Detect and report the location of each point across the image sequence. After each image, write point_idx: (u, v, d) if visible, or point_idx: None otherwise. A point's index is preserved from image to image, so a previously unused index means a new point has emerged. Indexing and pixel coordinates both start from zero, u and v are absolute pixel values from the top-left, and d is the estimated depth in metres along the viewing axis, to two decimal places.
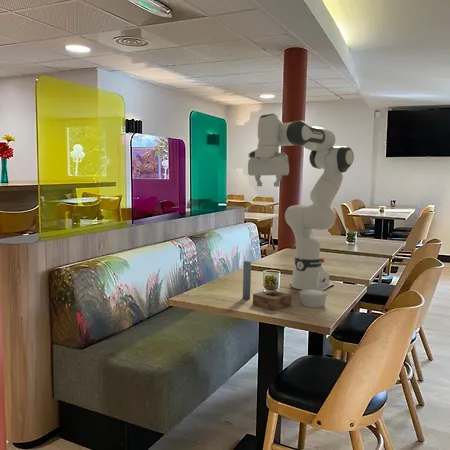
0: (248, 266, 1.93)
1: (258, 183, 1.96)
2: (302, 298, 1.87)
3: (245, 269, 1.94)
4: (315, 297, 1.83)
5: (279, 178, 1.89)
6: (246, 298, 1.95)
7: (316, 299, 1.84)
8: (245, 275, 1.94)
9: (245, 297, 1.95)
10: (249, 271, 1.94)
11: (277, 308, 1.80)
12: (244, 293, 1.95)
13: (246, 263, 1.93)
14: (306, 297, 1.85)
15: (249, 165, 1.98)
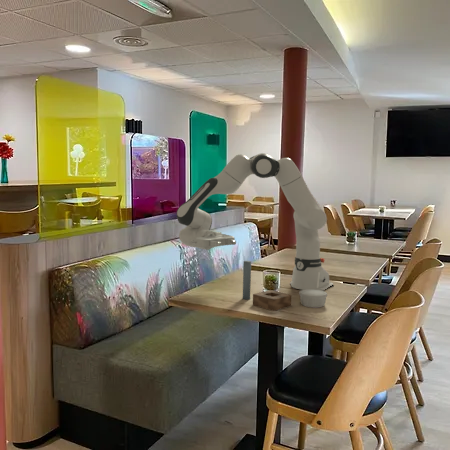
0: (248, 266, 1.93)
1: None
2: (302, 298, 1.87)
3: (245, 269, 1.94)
4: (315, 297, 1.83)
5: (211, 244, 2.00)
6: (246, 298, 1.95)
7: (316, 299, 1.84)
8: (245, 275, 1.94)
9: (245, 297, 1.95)
10: (249, 271, 1.94)
11: (277, 308, 1.80)
12: (244, 293, 1.95)
13: (246, 263, 1.93)
14: (306, 297, 1.85)
15: None
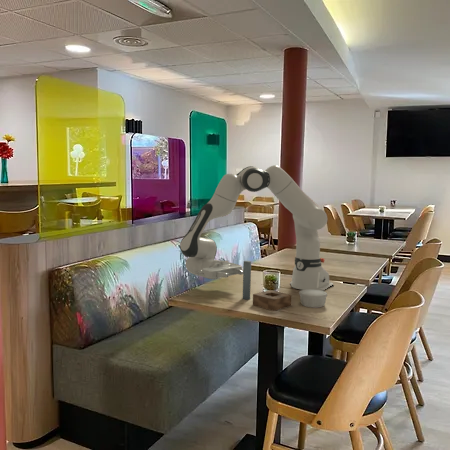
0: (248, 266, 1.93)
1: None
2: (302, 298, 1.87)
3: (245, 269, 1.94)
4: (315, 297, 1.83)
5: (218, 275, 1.98)
6: (246, 298, 1.95)
7: (316, 299, 1.84)
8: (245, 275, 1.94)
9: (245, 297, 1.95)
10: (249, 271, 1.94)
11: (277, 308, 1.80)
12: (244, 293, 1.95)
13: (246, 263, 1.93)
14: (306, 297, 1.85)
15: None
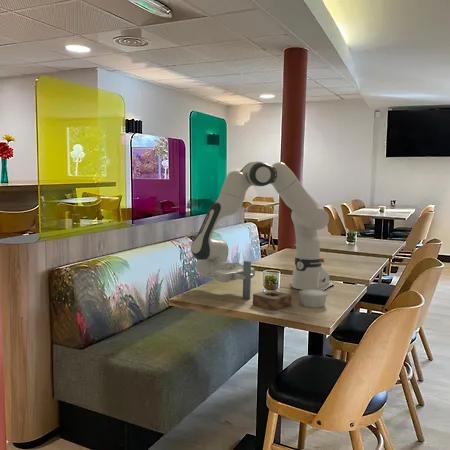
0: (248, 266, 1.93)
1: None
2: (302, 298, 1.87)
3: (245, 269, 1.94)
4: (315, 297, 1.83)
5: (236, 277, 1.94)
6: (246, 298, 1.95)
7: (316, 299, 1.84)
8: None
9: (245, 297, 1.95)
10: (249, 271, 1.94)
11: (277, 308, 1.80)
12: (244, 292, 1.95)
13: (246, 263, 1.93)
14: (306, 297, 1.85)
15: None
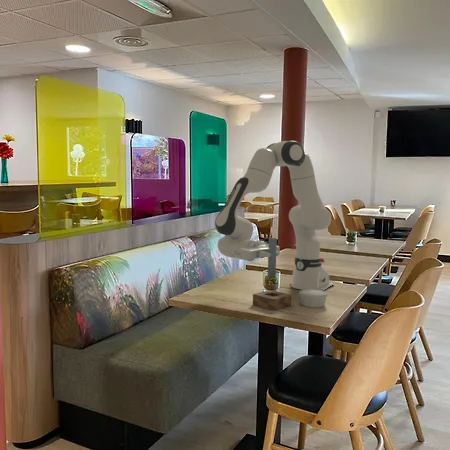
0: (274, 243, 1.83)
1: None
2: (302, 298, 1.87)
3: (270, 246, 1.83)
4: (315, 297, 1.83)
5: (261, 254, 1.84)
6: (271, 277, 1.84)
7: (316, 299, 1.84)
8: (271, 253, 1.83)
9: (270, 276, 1.84)
10: (275, 248, 1.83)
11: (277, 308, 1.80)
12: (269, 271, 1.84)
13: (272, 240, 1.83)
14: (306, 297, 1.85)
15: None
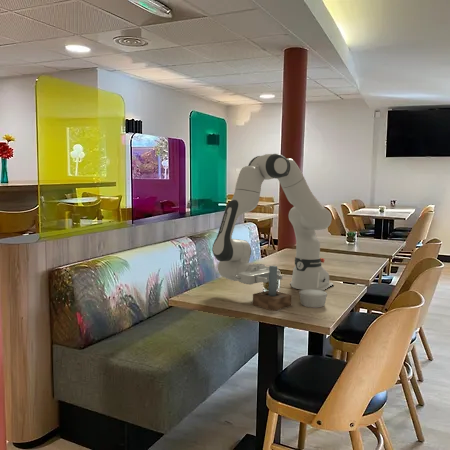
0: (274, 271, 1.83)
1: None
2: (302, 298, 1.87)
3: (271, 274, 1.84)
4: (315, 297, 1.83)
5: (258, 280, 1.83)
6: None
7: (316, 299, 1.84)
8: (271, 281, 1.84)
9: None
10: (275, 276, 1.84)
11: (277, 308, 1.80)
12: None
13: (272, 268, 1.83)
14: (306, 297, 1.85)
15: None
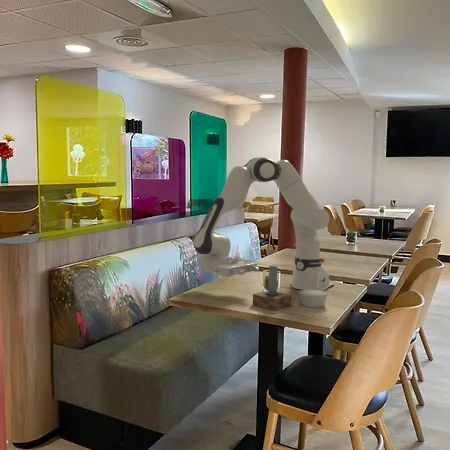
0: (274, 271, 1.84)
1: None
2: (302, 298, 1.87)
3: (271, 274, 1.84)
4: (315, 297, 1.83)
5: (234, 272, 1.92)
6: None
7: (316, 299, 1.84)
8: (271, 281, 1.84)
9: None
10: (275, 276, 1.84)
11: (277, 308, 1.80)
12: None
13: (272, 268, 1.83)
14: (306, 297, 1.85)
15: None
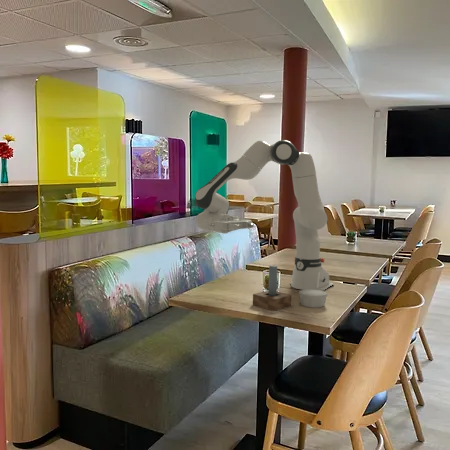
0: (274, 271, 1.84)
1: None
2: (302, 298, 1.87)
3: (271, 274, 1.84)
4: (315, 297, 1.83)
5: (229, 226, 2.00)
6: None
7: (316, 299, 1.84)
8: (271, 281, 1.84)
9: None
10: (275, 276, 1.84)
11: (277, 308, 1.80)
12: None
13: (272, 268, 1.83)
14: (306, 297, 1.85)
15: None
